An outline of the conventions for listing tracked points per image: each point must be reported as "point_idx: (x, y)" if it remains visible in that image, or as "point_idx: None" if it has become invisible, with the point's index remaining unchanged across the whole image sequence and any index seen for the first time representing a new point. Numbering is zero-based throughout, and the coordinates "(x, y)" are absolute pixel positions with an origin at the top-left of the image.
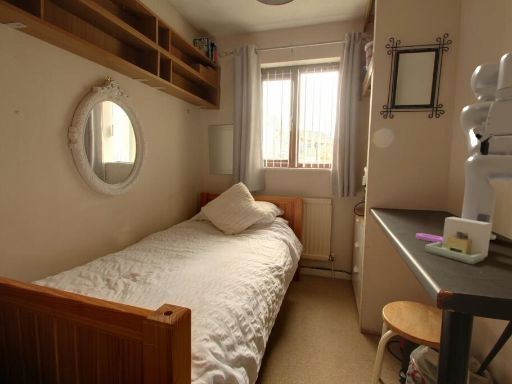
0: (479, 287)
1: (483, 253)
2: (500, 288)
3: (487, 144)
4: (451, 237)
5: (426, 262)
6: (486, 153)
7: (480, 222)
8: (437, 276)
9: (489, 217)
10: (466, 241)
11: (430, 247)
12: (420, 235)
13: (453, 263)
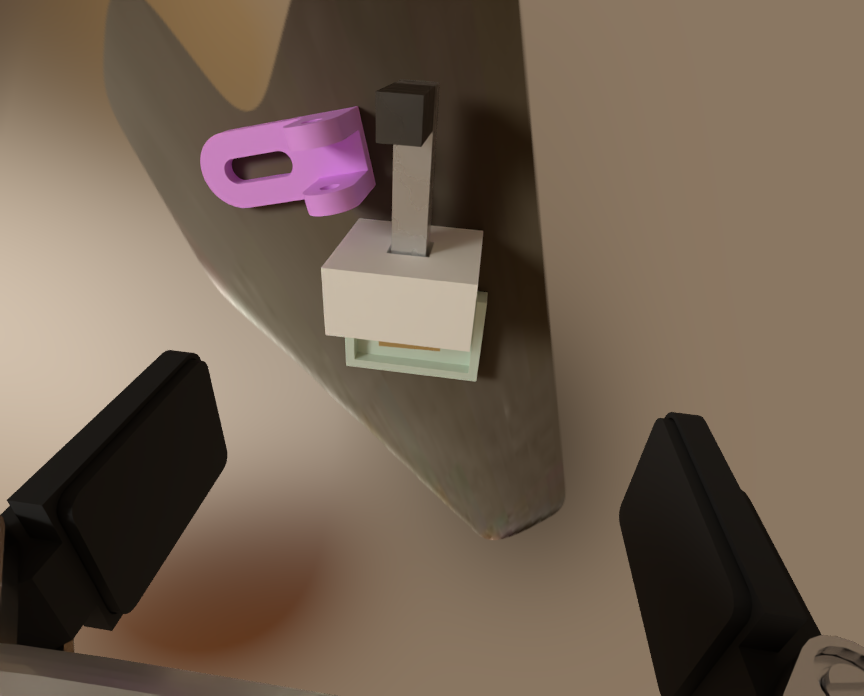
0: (524, 493)
1: (484, 312)
2: (553, 472)
3: (121, 529)
4: (390, 345)
5: (405, 439)
6: (208, 413)
7: (444, 311)
8: (457, 497)
9: (426, 96)
10: (437, 349)
11: (362, 364)
12: (233, 196)
13: (445, 397)
